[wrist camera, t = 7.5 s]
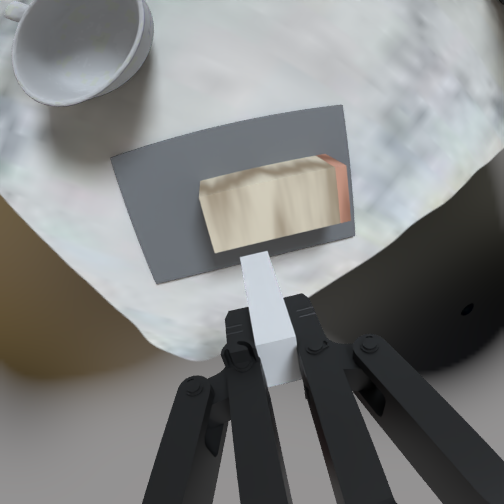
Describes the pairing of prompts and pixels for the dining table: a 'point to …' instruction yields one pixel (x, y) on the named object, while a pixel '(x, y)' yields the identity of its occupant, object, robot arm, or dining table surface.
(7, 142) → the dining table surface
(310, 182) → the block
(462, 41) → the dining table surface
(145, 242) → the mat
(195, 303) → the dining table surface
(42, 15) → the teacup
